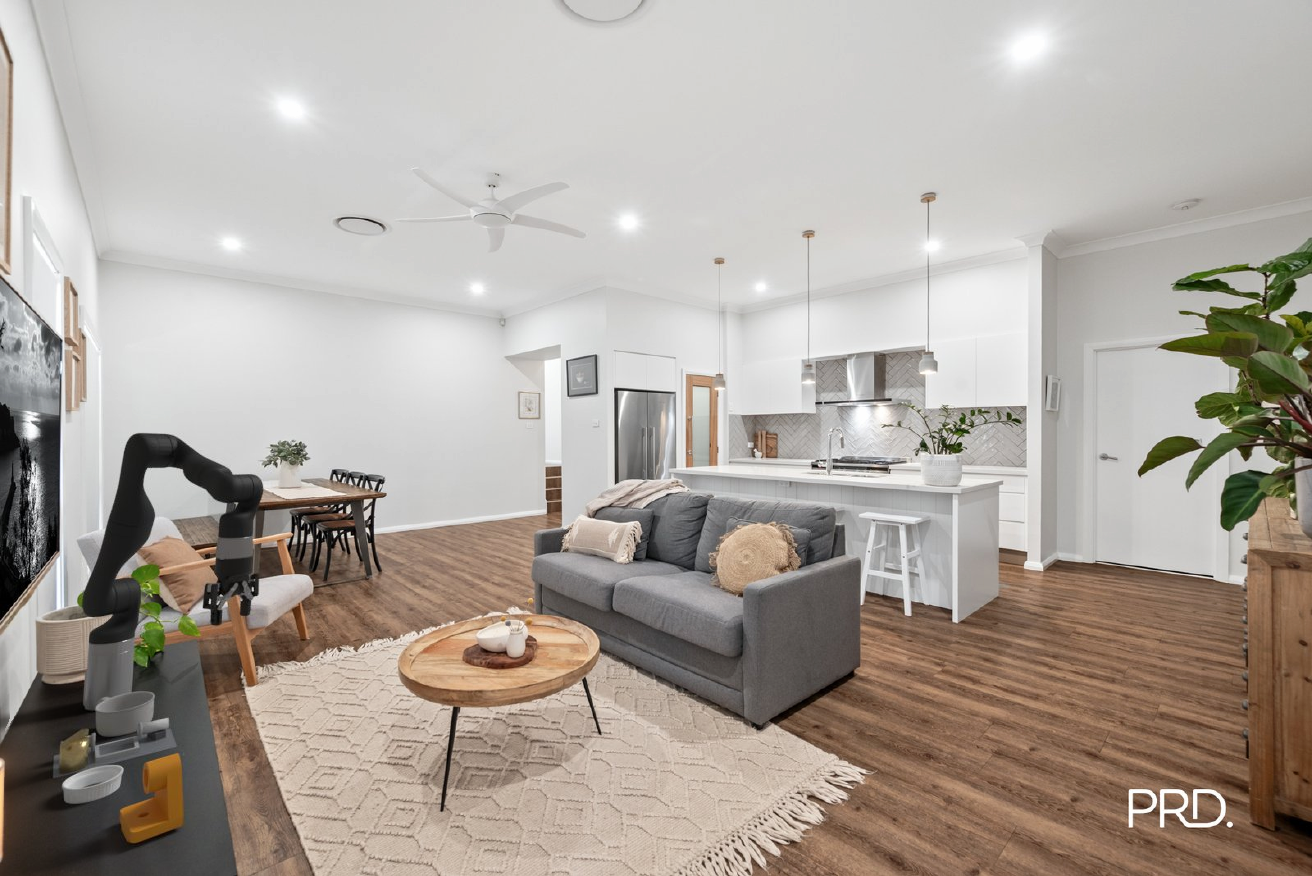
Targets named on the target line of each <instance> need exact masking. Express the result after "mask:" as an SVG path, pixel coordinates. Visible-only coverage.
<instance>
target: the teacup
mask: <svg viewBox="0 0 1312 876" xmlns="http://www.w3.org/2000/svg"><path fill="white" fill-rule="evenodd" d="M155 696H156V695H155V694H154V692H151V691H144V690H142V691H132V692H131V693H126V694H122V695H118V696H115V697H112V698H108V697H104V698H102V699H100V700H99V701H98V702H97V706H96V707H95V710H94V711H95V728H96V732H97V734H99V735H100V736H102V737H108V738H109V737H110V738H111V737H121V736H125V735H129V734H133V733H135V732H136V733H137V726H138V723H141V722H142V724H143V723H147V722H151V721H152V720H153V717H154V710H155Z"/></svg>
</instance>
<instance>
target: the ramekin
mask: <svg viewBox="0 0 1312 876" xmlns="http://www.w3.org/2000/svg"><path fill="white" fill-rule="evenodd" d="M123 774H124V767H122V766H121V765H118V764H117V765H116V764H108V765H104V766H100V767H95V768H91V769H88V770H84V771H80V772H76V774H75V773H74V774H73V775H71V776H70V777H68V778H66V779H65V780H64V781H63V782H62V784H61V789H62V790H63V799H64V802H65V803H67V804H73V805H74V804H78V805H79V804H85V803H89V802H93V801H96V800H99V799H102V798H104V797H108V796H109V795H112V793H114V792H115V791H117V790H118V789H119V788H120V786H121V782H122V775H123Z"/></svg>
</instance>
